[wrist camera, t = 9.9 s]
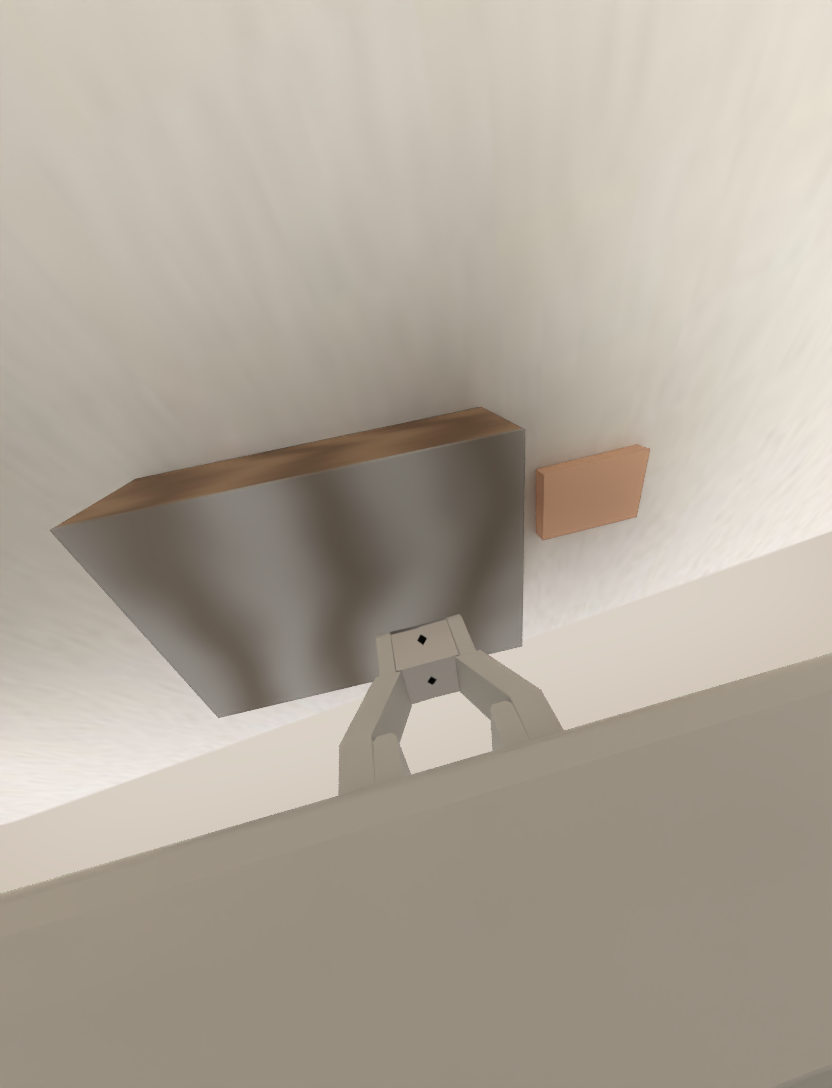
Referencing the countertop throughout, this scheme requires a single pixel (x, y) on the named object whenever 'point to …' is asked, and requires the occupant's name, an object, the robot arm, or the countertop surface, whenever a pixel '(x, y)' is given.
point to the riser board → (316, 555)
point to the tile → (589, 491)
